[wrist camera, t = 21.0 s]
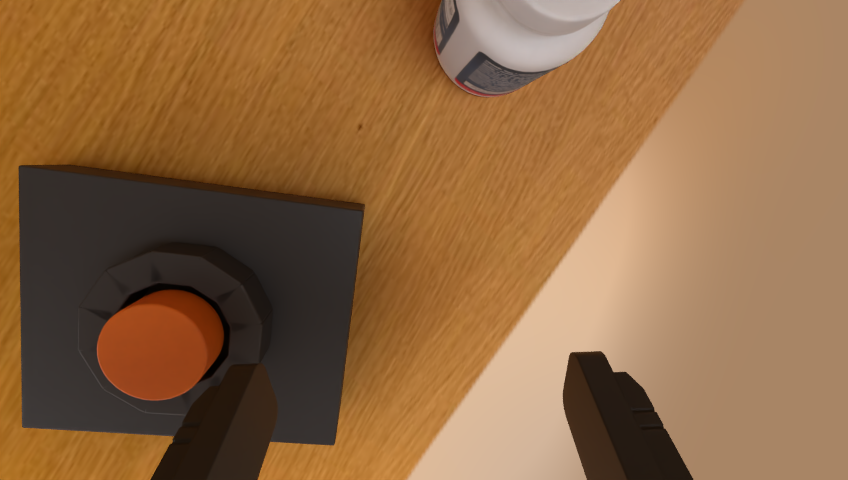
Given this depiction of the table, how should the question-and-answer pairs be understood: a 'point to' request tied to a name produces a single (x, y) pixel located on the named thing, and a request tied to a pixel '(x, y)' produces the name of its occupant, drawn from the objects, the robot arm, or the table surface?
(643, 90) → the table surface
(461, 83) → the pill bottle
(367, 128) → the table surface
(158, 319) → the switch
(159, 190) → the button base
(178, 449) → the robot arm
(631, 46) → the table surface
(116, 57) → the table surface
